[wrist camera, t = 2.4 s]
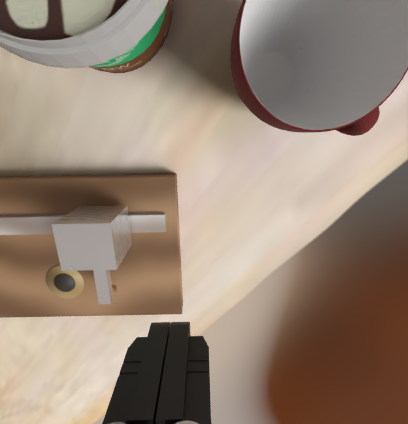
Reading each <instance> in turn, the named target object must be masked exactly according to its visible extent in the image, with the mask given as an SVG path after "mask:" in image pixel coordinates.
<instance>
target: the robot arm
mask: <svg viewBox="0 0 408 424" xmlns="http://www.w3.org/2000/svg"><path fill="white" fill-rule="evenodd" d="M210 412H211V411H210V378H209V347H208V345H207V343H206V341H205V340H204V338H203V336H190V322H171V323H170V322H161V323H151V326H150V330H149V333H148V337H137V338H136V339H135V341H134V342H133V343H132V344H131V345H130V347H129V348H128V350H127V353H126V356H125V359H124V363H123V365H122V368H121V371H120V375H119V377H118V379H117V382H116V385H115V388H114V391H113V394H112V397H111V400H110V403H109V406H108V409H107V412H106V415H105V418H104V421H103V423H102V424H211V413H210Z"/></svg>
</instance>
